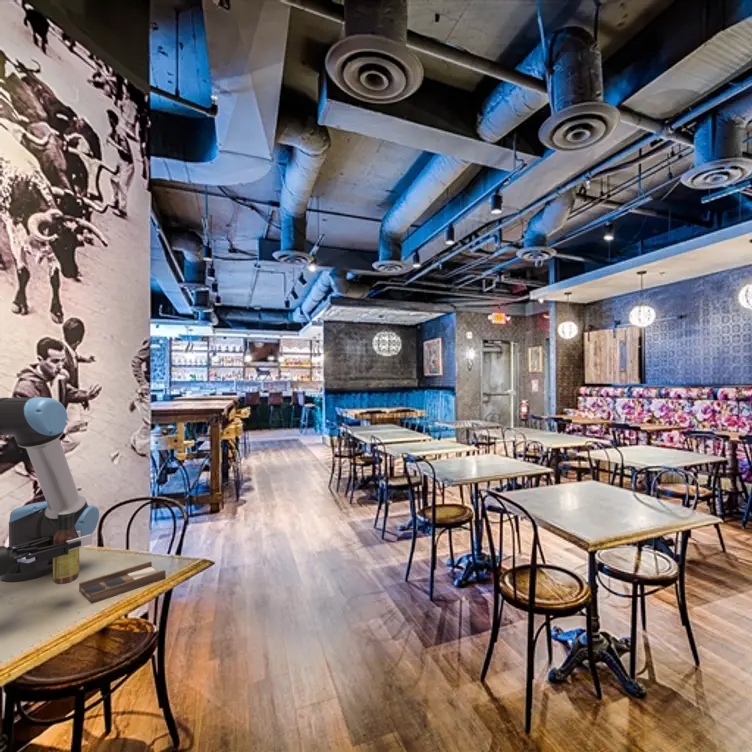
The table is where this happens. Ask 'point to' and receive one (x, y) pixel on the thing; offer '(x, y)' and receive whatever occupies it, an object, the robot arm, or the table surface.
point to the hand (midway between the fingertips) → (85, 537)
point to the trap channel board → (120, 582)
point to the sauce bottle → (69, 564)
